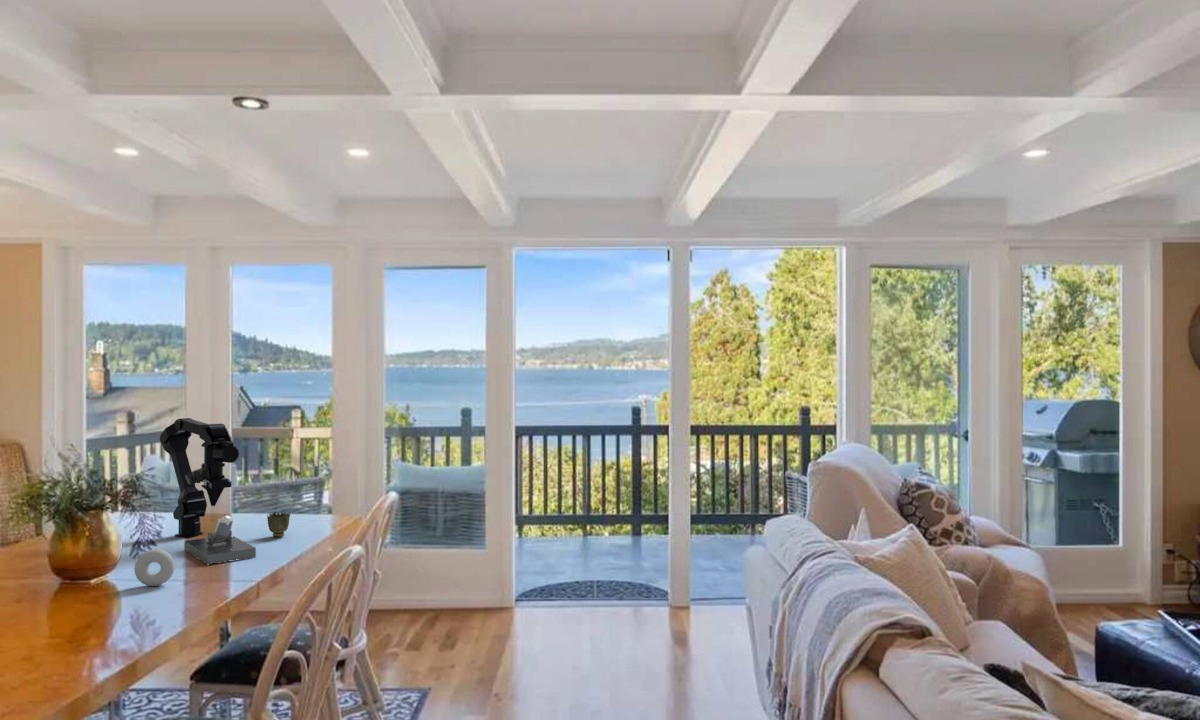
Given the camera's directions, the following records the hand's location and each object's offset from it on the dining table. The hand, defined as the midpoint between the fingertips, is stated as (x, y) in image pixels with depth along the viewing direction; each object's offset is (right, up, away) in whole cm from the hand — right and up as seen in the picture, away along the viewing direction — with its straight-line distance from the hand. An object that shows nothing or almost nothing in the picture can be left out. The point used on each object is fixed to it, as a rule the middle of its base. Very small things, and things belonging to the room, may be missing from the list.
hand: (213, 505), depth 256 cm
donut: (+10, -12, -51) cm, 53 cm away
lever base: (+11, -12, -17) cm, 23 cm away
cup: (+20, -12, +7) cm, 24 cm away
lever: (+11, -8, -17) cm, 21 cm away
